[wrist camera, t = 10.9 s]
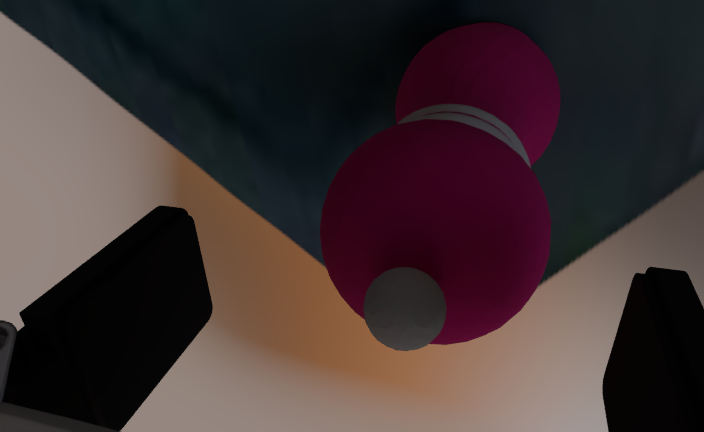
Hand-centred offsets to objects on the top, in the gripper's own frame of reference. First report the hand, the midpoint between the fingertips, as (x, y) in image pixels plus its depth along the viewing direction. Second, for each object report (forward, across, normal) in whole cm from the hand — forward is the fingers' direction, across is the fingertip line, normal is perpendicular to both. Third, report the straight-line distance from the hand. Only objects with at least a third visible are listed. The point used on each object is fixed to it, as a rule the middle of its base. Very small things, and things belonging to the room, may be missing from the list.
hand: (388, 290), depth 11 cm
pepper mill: (+19, -1, +1) cm, 19 cm away
